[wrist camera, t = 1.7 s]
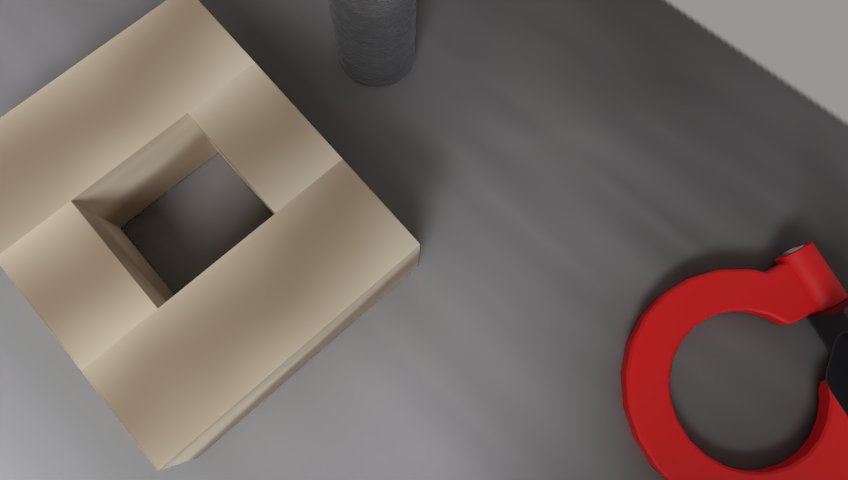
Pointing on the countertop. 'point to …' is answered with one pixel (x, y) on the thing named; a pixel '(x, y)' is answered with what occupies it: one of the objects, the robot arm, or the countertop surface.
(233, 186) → the countertop surface
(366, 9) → the steel pin
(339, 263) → the socket block
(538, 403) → the countertop surface
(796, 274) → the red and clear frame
